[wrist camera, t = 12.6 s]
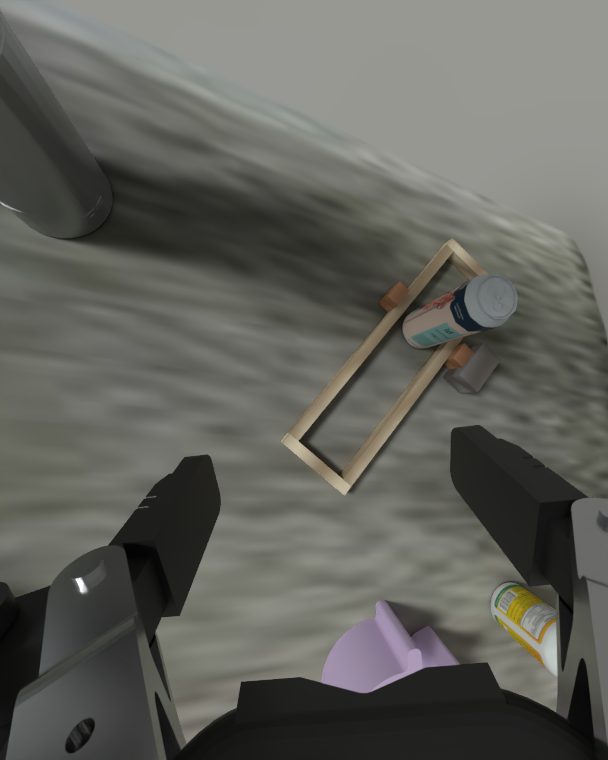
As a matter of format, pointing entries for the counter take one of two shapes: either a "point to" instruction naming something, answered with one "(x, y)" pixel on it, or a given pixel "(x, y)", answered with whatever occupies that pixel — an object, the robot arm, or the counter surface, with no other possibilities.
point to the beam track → (463, 374)
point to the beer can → (462, 311)
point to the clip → (382, 653)
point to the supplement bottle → (527, 622)
